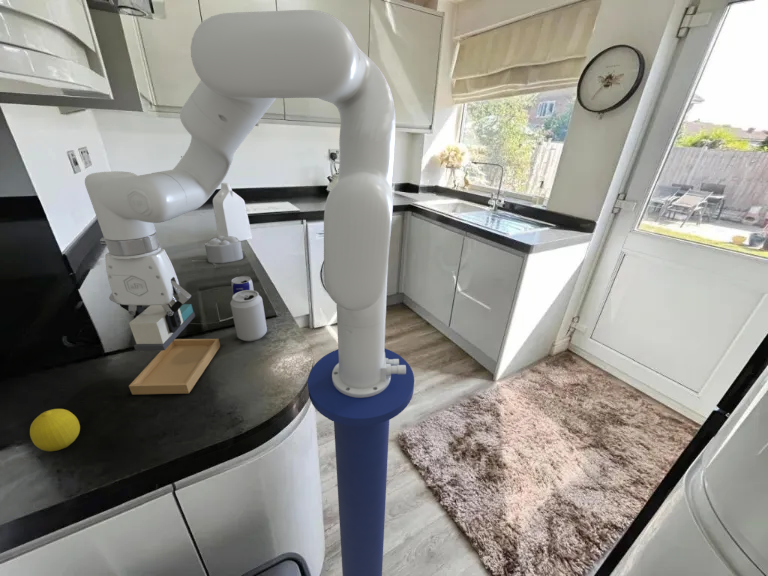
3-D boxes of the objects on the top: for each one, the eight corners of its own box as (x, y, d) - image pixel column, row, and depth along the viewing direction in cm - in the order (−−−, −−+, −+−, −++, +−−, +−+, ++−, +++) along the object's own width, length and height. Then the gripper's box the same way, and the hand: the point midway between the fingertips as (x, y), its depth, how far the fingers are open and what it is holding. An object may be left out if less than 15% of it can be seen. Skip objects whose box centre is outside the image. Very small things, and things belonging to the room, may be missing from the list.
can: (255, 345, 81) (247, 304, 76) (230, 339, 83) (221, 298, 78) (273, 330, 88) (267, 290, 82) (250, 324, 90) (243, 286, 85)
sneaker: (164, 350, 63) (156, 324, 60) (135, 350, 63) (125, 324, 60) (195, 316, 75) (189, 293, 72) (171, 316, 74) (164, 293, 72)
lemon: (56, 466, 51) (34, 431, 48) (35, 454, 53) (12, 420, 50) (94, 438, 56) (76, 404, 53) (74, 429, 58) (55, 395, 54)
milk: (252, 238, 160) (244, 183, 149) (229, 243, 152) (218, 186, 141) (240, 233, 167) (231, 181, 156) (218, 237, 159) (207, 183, 148)
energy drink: (246, 324, 90) (239, 285, 85) (234, 318, 92) (226, 280, 87) (261, 315, 94) (255, 278, 89) (249, 310, 97) (243, 274, 91)
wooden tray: (220, 346, 81) (218, 338, 80) (189, 393, 66) (186, 384, 65) (174, 346, 80) (171, 339, 79) (132, 394, 65) (128, 385, 64)
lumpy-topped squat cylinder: (244, 259, 134) (241, 239, 131) (210, 265, 128) (205, 244, 124) (238, 252, 142) (235, 232, 138) (206, 257, 135) (201, 237, 131)
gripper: (66, 250, 54) (104, 340, 62) (172, 252, 55) (195, 339, 63) (99, 237, 61) (129, 319, 69) (192, 238, 62) (211, 319, 70)
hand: (160, 328), depth 66 cm, fingers closed on sneaker, 5 cm apart
